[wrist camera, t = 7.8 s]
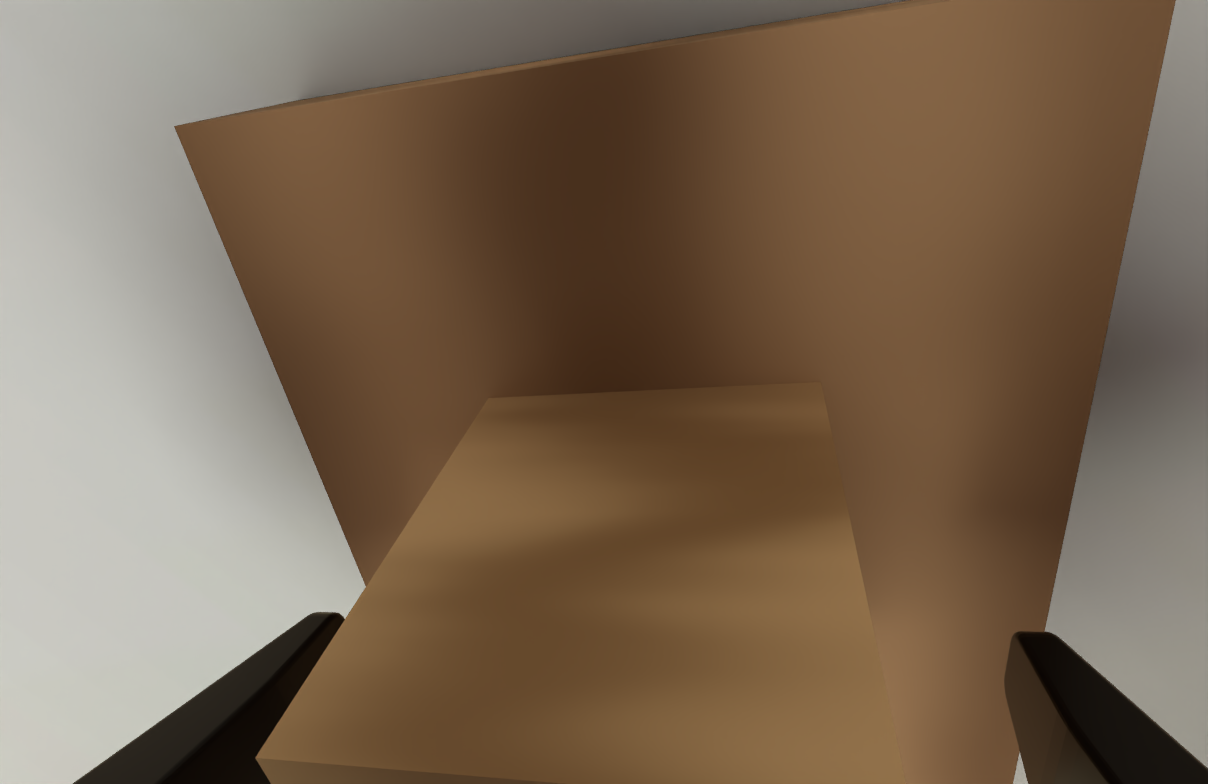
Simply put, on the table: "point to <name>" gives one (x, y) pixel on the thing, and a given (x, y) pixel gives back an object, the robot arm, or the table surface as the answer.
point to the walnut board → (735, 282)
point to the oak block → (611, 608)
